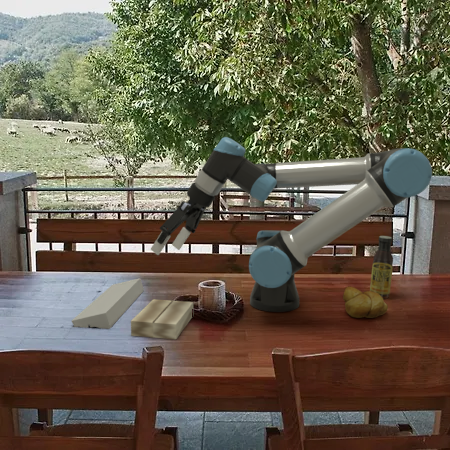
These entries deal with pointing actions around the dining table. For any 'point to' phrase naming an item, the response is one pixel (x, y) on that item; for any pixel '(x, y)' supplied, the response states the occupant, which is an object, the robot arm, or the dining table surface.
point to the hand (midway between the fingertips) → (165, 249)
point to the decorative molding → (109, 305)
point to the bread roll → (363, 303)
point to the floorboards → (162, 319)
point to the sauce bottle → (382, 268)
